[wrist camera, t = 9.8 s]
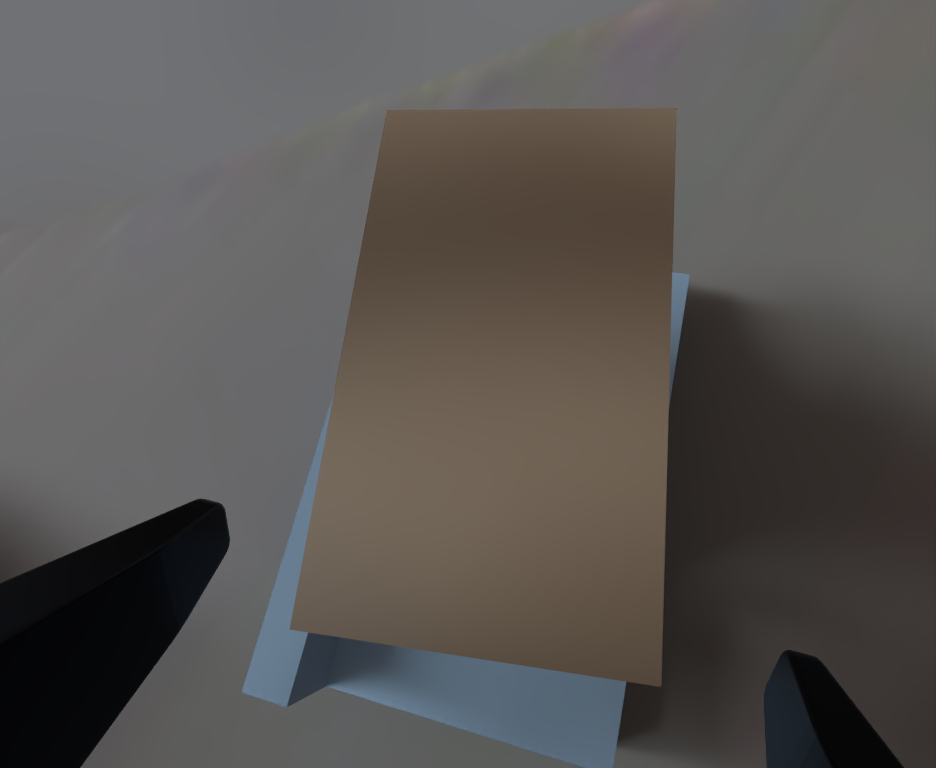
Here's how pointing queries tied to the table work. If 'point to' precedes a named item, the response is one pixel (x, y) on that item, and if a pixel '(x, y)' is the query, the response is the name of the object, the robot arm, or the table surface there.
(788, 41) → the table surface
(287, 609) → the picture shelf
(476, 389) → the frame block
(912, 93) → the table surface
